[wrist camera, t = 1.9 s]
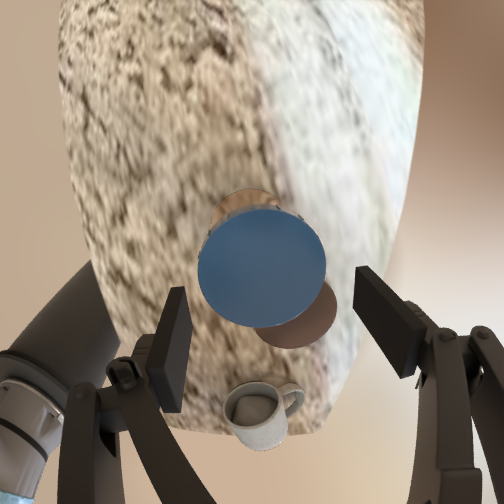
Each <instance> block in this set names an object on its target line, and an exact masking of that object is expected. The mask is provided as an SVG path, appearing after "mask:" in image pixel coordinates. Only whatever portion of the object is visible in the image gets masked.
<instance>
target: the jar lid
mask: <svg viewBox="0 0 504 504" xmlns="http://www.w3.org/2000/svg"><path fill="white" fill-rule="evenodd" d="M198 259H199V262H198V281H199V285H200V288H201V291H202V293H203V296H204V297H205V299H206V301H207V302H208V303H209V305H210V306H211V307H212V308H213V309H214V310H215V311H216V312H217V313H218V314H219V315H221V316H222V317H223V318H225V319H227V320H229V321H231V322H233V323H236V324H239V325H242V326H247V327H256V328H262V327H271V326H276V325H279V324H283V323H285V322H287V321H290V320H291V319H293V318H295V317H297V316H298V315H299V314H301V313H302V312H303V311H305V310H306V309H307V308H308V307H309V306H310V305H311V303H312V302H313V301H314V300H315V298H316V297H317V295H318V293H319V291H320V290H321V287H322V285H323V282H324V278H325V273H326V258H325V253H324V249H323V246H322V244H321V242H320V240H319V237H318V236H317V235H316V233H315V232H314V231H313V230H312V229H311V227H310V226H309V225H308V224H307V223H306V222H305V221H304V219H303V218H302V217H301V216H300V215H299V214H298V215H297V214H295V213H294V212H292V211H290V210H288V209H286V208H283V207H280V206H278V205H277V204H276V205H271V204H251V205H247V206H244V207H240V208H238V209H236V210H233V211H231V212H230V213H228V212H227V214H226V215H225V216H223V217H222V218H221V219H220V220H219V221H218V222H217V223H216V224H215V225H214V226H213V227H212V228H211V230H210V229H209V231H208V234H207V236H206V238H205V240H204V242H203V245H202V248H201V251H199V256H198Z"/></svg>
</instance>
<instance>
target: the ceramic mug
mask: <svg viewBox="0 0 504 504" xmlns="http://www.w3.org/2000/svg"><path fill="white" fill-rule="evenodd" d="M294 391H296V400H295V401H294V403H293V404H292V405H291V406H290V407H288V408H287V409H286V410H284V405H283V401H282V396H284V395H285V394H288V393H291V392H294ZM304 400H305V392H304V390H303V389H302V388H301V387H299V386H298V385H297V384H293V383H289V384H285V385H283V386H280V387H278V388H275V387H274V386H273V385H271V384H269V383H265V382H249V383H246V384H243V385H240V386H238V387H237V388H235V389H234V390H232V391H231V392H230V393H229V394H228V395H227V397H226V399H225V401H224V403H223V416H224V419H225V420H226V422H227V423H228V425H229V426H230V427H231V429H232V430H233V432H234V433H235V434H236V436H237V437H238V438H239V440H240V441H241V443H243V444H244V445H245V446H247V447H248V448H250V449H252V450H256V451H266V450H270V449H273V448H275V447H276V446H278V445H279V444H280V443H282V441H283V440H284V439H285V437H286V435H287V430H288V421H287V419H288V418H290V417H291V416H292V415H294V414H295V413H296V412H297V411H298V410H299V409H300V408H301V407H302V405H303V403H304Z"/></svg>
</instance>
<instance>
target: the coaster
mask: <svg viewBox="0 0 504 504" xmlns="http://www.w3.org/2000/svg"><path fill="white" fill-rule="evenodd" d="M336 312H337V302H336V297H335V295H334V293H333V291H332V289H331V288H330V287H329V285H328V284H327V283H326V282H323V285H322V287H321V290H320V291H319V293H318V295H317V297H316V298H315V300H314V301H313V302H312V303H311V305H310V306H309V307H308V308H307V309H306V310H305V311H303V312H302V313H301V314H299V315H298V316H297V317H295V318H293V319H291V320H290V321H287V322H285V323H283V324H279V325H276V326H271V327H262V328H256V327H254V328H255V330H256V332H257V334H258V335H259V336H260V337H261V338H262V339H263V340H264V341H265V342H267V343H268V344H270V345H272V346H275V347H279V348H285V349H293V348H299V347H303V346H306V345H309V344H311V343H313V342H315V341H316V340H318V339H319V338H321V337H322V336H323V335H324V334H325V333H326V332H327V331H328V330H329V328H330V327H331V325H332V323H333V321H334V319H335V316H336Z"/></svg>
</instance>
